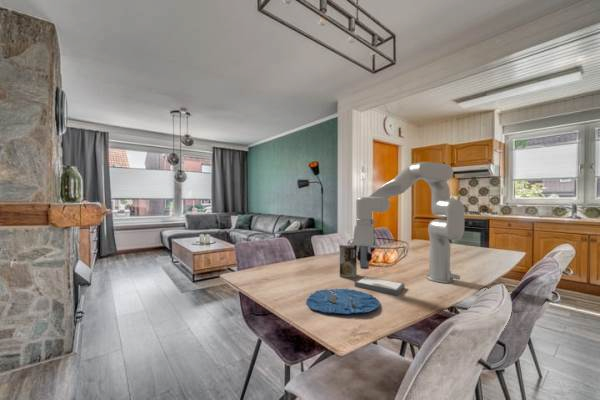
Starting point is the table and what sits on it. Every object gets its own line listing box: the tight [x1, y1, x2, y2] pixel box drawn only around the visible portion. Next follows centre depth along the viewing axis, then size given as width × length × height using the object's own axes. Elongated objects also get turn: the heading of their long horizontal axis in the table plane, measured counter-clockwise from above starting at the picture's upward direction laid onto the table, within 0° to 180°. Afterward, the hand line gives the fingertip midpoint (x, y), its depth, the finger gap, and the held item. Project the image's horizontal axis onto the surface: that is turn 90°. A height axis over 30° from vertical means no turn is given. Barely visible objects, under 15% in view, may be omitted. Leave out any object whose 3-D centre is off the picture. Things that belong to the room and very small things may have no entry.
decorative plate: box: [305, 288, 381, 315], centre depth 105 cm, size 30×30×5 cm
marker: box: [359, 245, 370, 270], centre depth 125 cm, size 4×4×14 cm
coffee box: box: [338, 244, 358, 278], centre depth 141 cm, size 9×6×16 cm
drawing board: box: [354, 275, 405, 296], centre depth 123 cm, size 20×12×2 cm, turn 55°
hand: (364, 260), depth 125 cm, fingers closed on marker, 4 cm apart
